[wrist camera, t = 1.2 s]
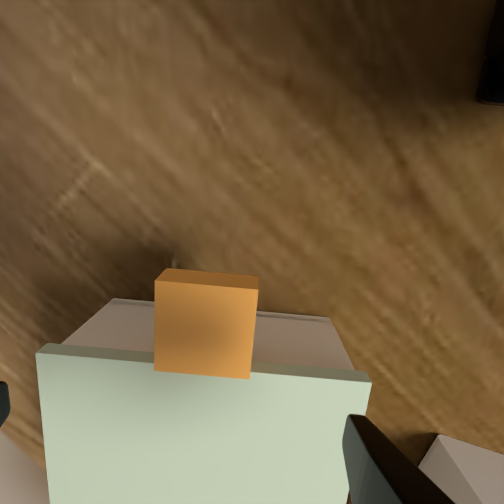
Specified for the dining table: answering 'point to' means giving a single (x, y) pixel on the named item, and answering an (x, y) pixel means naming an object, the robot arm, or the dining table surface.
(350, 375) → the lid
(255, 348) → the tub
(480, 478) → the soap bottle
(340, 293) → the dining table surface
